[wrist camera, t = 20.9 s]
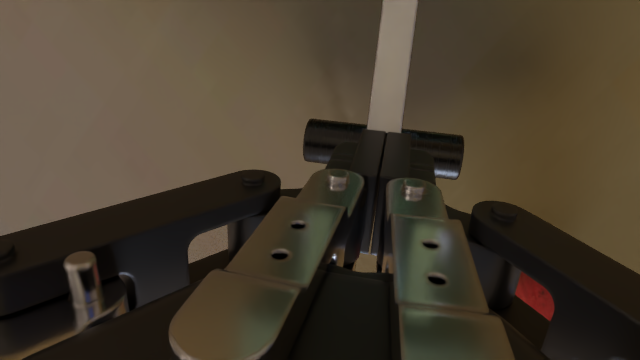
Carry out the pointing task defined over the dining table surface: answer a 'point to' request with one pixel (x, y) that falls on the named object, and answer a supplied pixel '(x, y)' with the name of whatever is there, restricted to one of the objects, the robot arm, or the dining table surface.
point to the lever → (388, 99)
